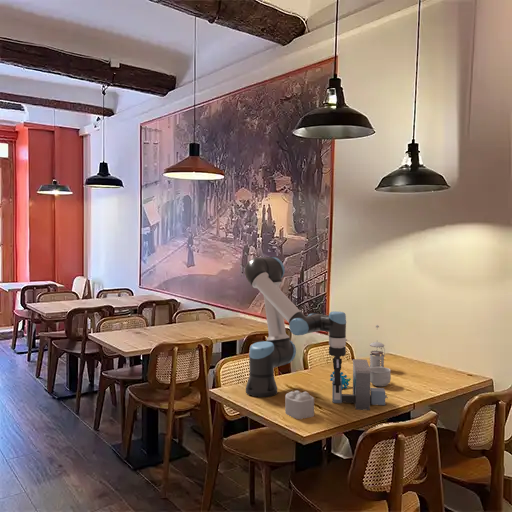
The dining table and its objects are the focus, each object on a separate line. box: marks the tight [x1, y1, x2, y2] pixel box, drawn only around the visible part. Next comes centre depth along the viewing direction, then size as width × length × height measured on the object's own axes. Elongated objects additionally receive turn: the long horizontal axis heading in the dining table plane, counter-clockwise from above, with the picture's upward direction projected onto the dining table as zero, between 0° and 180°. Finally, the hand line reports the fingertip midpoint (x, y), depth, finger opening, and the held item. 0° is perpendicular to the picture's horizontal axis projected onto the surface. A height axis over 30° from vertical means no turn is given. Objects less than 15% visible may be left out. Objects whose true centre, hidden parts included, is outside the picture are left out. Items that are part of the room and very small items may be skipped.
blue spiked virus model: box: [329, 371, 352, 390], centre depth 246 cm, size 11×6×10 cm
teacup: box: [370, 366, 392, 388], centre depth 250 cm, size 14×11×8 cm
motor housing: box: [352, 358, 371, 411], centre depth 222 cm, size 6×20×17 cm, turn 172°
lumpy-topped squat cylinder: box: [284, 390, 315, 420], centre depth 208 cm, size 10×13×9 cm
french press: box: [369, 324, 386, 368], centre depth 279 cm, size 10×12×25 cm
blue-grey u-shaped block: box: [331, 378, 389, 406], centre depth 222 cm, size 24×5×10 cm, turn 82°
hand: (337, 397), depth 223 cm, fingers closed on blue-grey u-shaped block, 5 cm apart
